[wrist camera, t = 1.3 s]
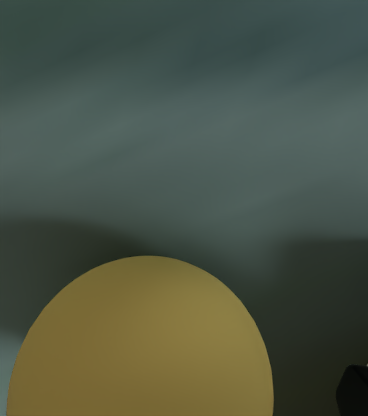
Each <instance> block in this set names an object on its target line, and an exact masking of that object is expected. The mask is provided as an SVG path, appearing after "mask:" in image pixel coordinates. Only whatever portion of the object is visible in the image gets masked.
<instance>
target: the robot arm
mask: <svg viewBox="0 0 368 416" xmlns="http://www.w3.org/2000/svg"><path fill="white" fill-rule="evenodd" d="M336 400H337V404H338V408H339V412H340V415H341V416H368V366H365V365H356V364H350V365H348V366H347V367H346V369H345V372H344V374H343V376H342V378H341V380H340V383H339V385H338V387H337V390H336Z"/></svg>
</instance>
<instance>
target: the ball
mask: <svg viewBox="0 0 368 416" xmlns="http://www.w3.org/2000/svg"><path fill="white" fill-rule="evenodd" d="M273 403H274V395H273V382H272V371H271V366H270V362H269V358H268V354H267V350H266V347H265V344H264V341H263V339H262V337H261V334H260V332H259V330H258V328H257V326H256V323H255V321H254V320H253V318H252V317H251V315H250V314H249V312H248V311H247V309H246V308H245V306H244V305H243V303H242V302H241V301H240V300H239V299H238V297H237V296H236V295H235V294H234V293H233V292H232V291H231V290H230V289H229V288H228V287H227V286H226V285H224V284H223V283H222V282H221V281H220V280H218V279H217V278H216V277H214V276H213V275H211V274H209V273H208V272H206V271H204V270H202V269H201V268H198V267H196V266H194V265H192V264H190V263H187V262H184V261H181V260H178V259H173V258H168V257H162V256H134V257H128V258H122V259H119V260H115V261H111V262H108V263H105V264H103V265H100V266H98V267H95V268H93V269H91V270H90V271H88V272H86V273H84V274H83V275H81V276H79V277H78V278H76V279H75V280H73V281H72V282H71V283H69V284H68V285H67V286H66V287H64V288H63V289H62V290H61V291H60V292H59V293H58V294H57V295H56V296H55V297H54V298H53V299H52V300H51V301H50V302H49V303H48V304H47V305H46V306H45V307H44V309H43V310H42V312H41V313H40V315H39V316H38V318H37V319H36V320H35V322H34V323H33V325H32V326H31V328H30V329H29V331H28V333H27V335H26V337H25V340H24V342H23V344H22V346H21V348H20V350H19V352H18V354H17V358H16V361H15V364H14V368H13V371H12V375H11V379H10V383H9V390H8V398H7V412H6V415H7V416H272V415H273Z"/></svg>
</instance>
